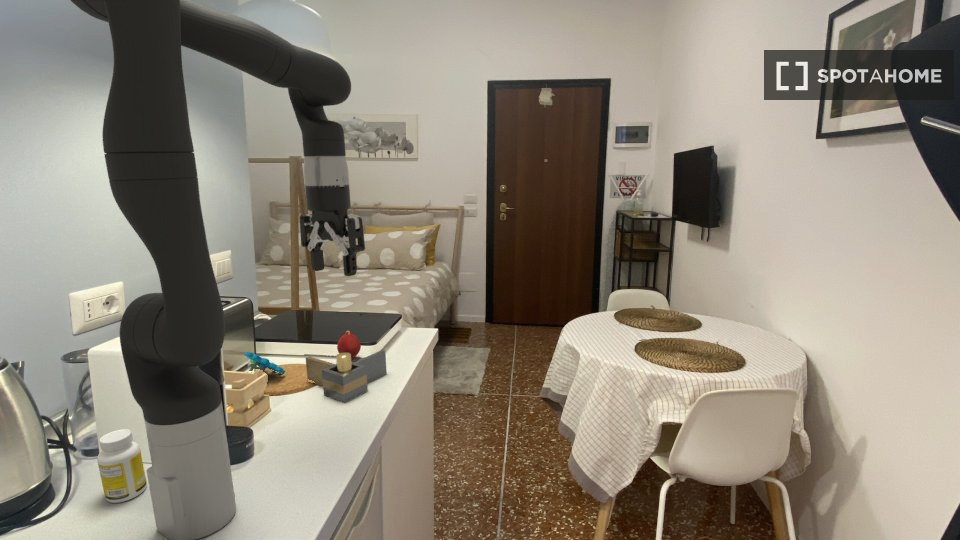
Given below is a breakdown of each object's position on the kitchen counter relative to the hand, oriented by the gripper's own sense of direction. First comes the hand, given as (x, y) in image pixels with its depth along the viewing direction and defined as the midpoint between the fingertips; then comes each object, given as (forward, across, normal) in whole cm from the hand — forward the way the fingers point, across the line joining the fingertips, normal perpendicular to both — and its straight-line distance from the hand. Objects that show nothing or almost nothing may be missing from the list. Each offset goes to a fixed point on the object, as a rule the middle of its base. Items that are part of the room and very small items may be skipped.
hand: (334, 272), depth 92 cm
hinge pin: (+30, -10, +9) cm, 33 cm away
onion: (+30, -24, +23) cm, 45 cm away
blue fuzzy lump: (+30, -33, +5) cm, 45 cm away
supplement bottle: (+30, -13, -33) cm, 47 cm away
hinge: (+30, -15, +14) cm, 36 cm away
